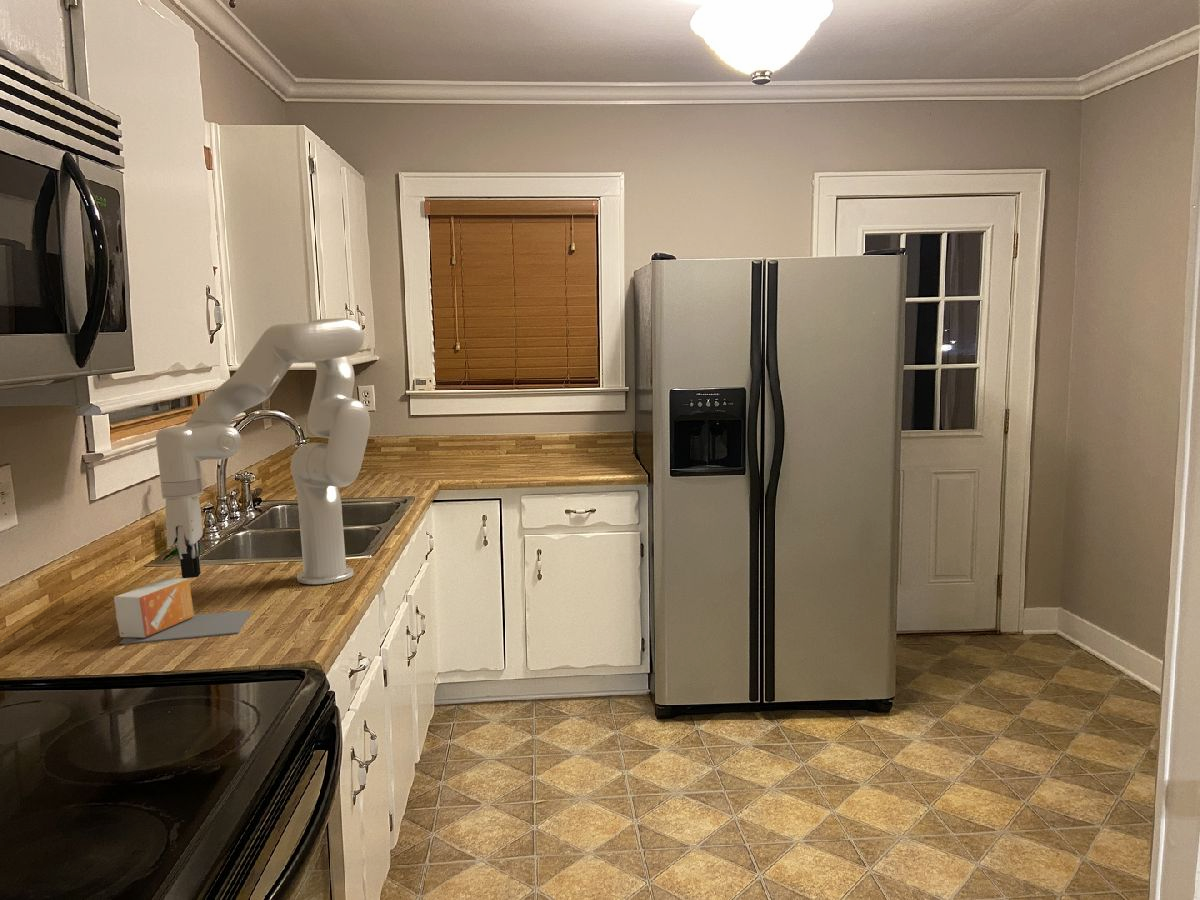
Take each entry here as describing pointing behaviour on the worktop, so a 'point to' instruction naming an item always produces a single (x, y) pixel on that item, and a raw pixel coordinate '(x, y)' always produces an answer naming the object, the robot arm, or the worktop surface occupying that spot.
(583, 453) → the worktop surface
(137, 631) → the small box
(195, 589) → the worktop surface
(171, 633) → the mat
